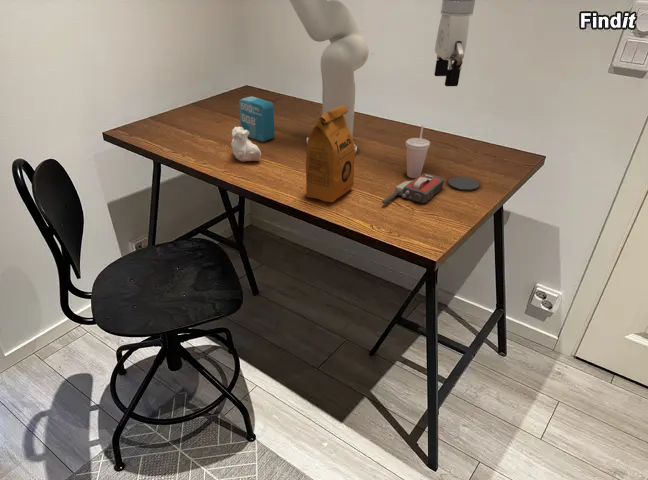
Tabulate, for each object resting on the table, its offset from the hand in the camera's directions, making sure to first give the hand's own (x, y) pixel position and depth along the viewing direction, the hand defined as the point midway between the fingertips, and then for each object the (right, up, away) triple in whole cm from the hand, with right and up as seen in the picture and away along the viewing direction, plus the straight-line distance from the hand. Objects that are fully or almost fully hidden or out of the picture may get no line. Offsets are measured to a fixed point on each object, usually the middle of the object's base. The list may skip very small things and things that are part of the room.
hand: (445, 80), depth 134 cm
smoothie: (-6, -23, +10) cm, 26 cm away
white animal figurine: (-54, -16, +22) cm, 60 cm away
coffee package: (-30, -29, +1) cm, 42 cm away
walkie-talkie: (-9, -30, -1) cm, 31 cm away
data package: (-51, -5, +37) cm, 63 cm away
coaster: (+6, -26, +5) cm, 27 cm away
